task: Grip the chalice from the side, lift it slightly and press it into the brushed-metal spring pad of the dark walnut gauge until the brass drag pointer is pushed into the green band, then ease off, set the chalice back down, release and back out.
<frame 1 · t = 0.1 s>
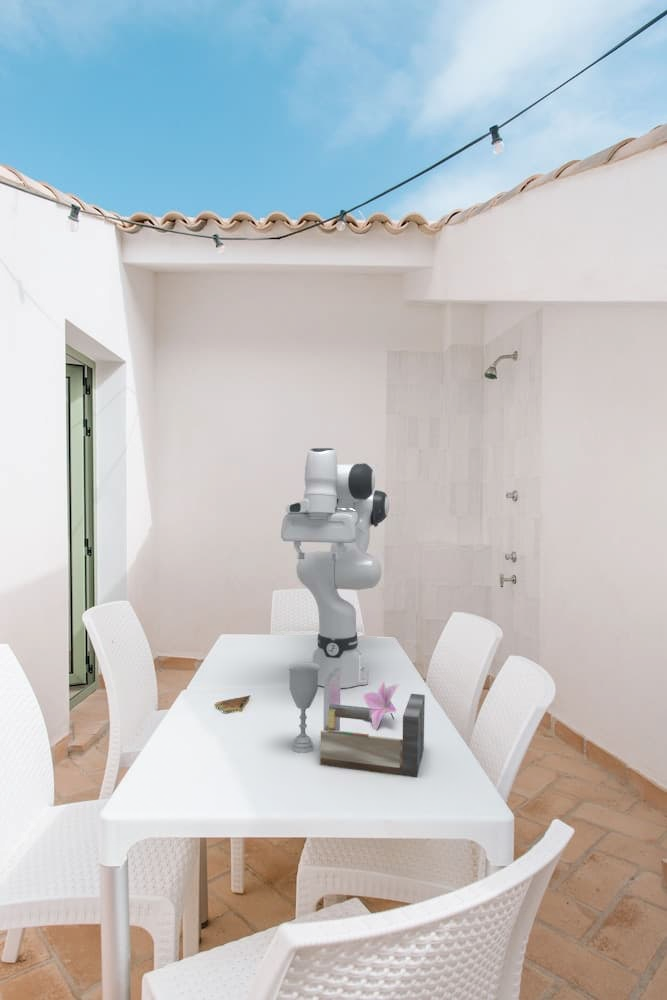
hand: (318, 559, 158), 39 cm above the table, tool pointing down, fingers open, 8 cm apart
shard: (230, 708, 159), on the table
gauge housing: (373, 756, 129), on the table
lily: (380, 722, 149), on the table
drag pointer: (332, 731, 126), point 7 cm above the table, slide at 0.0 cm
gauge plunger: (349, 710, 130), point 10 cm above the table, slide at 0.0 cm
chalice: (302, 748, 133), on the table
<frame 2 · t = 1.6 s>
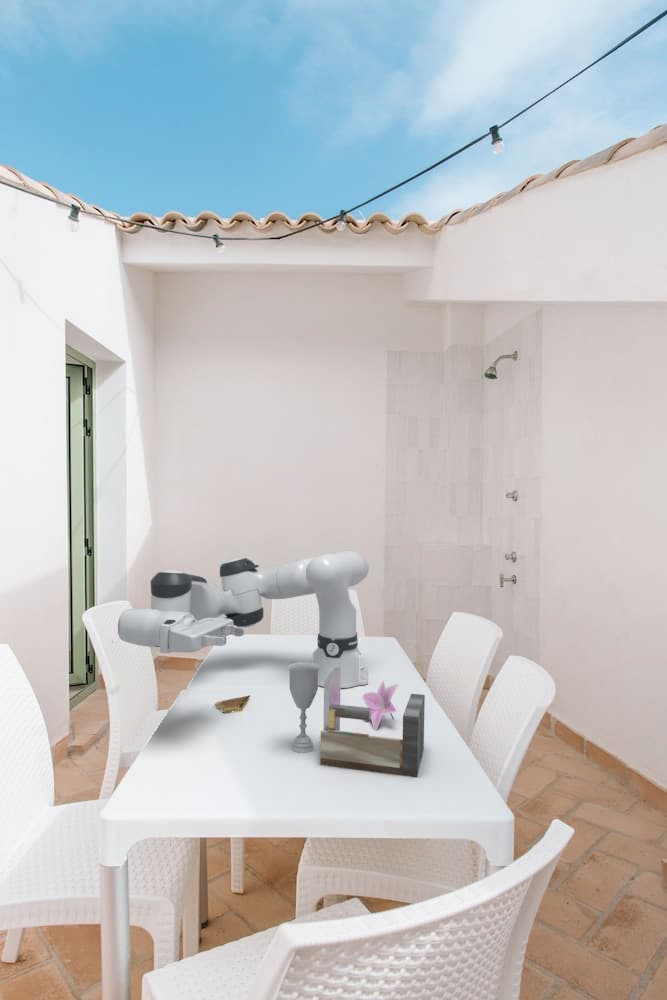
hand: (234, 636, 137), 23 cm above the table, tool horizontal, fingers open, 8 cm apart
nothing on the table moved.
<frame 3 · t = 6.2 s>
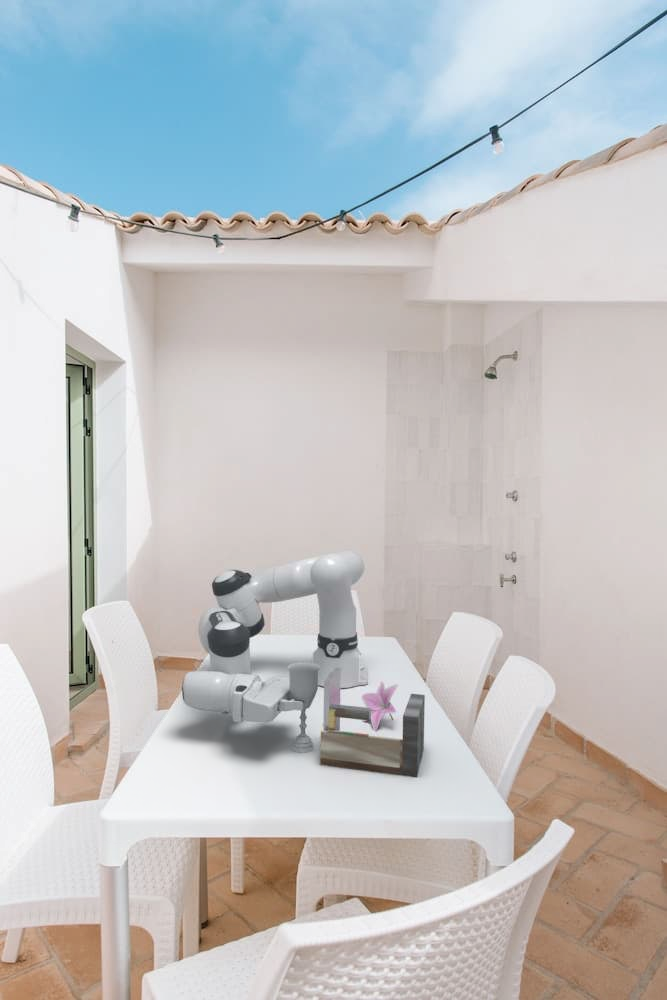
hand: (307, 700, 133), 11 cm above the table, tool horizontal, fingers closed on chalice, 5 cm apart
chalice: (302, 748, 133), on the table, touching gripper
everything else where it was.
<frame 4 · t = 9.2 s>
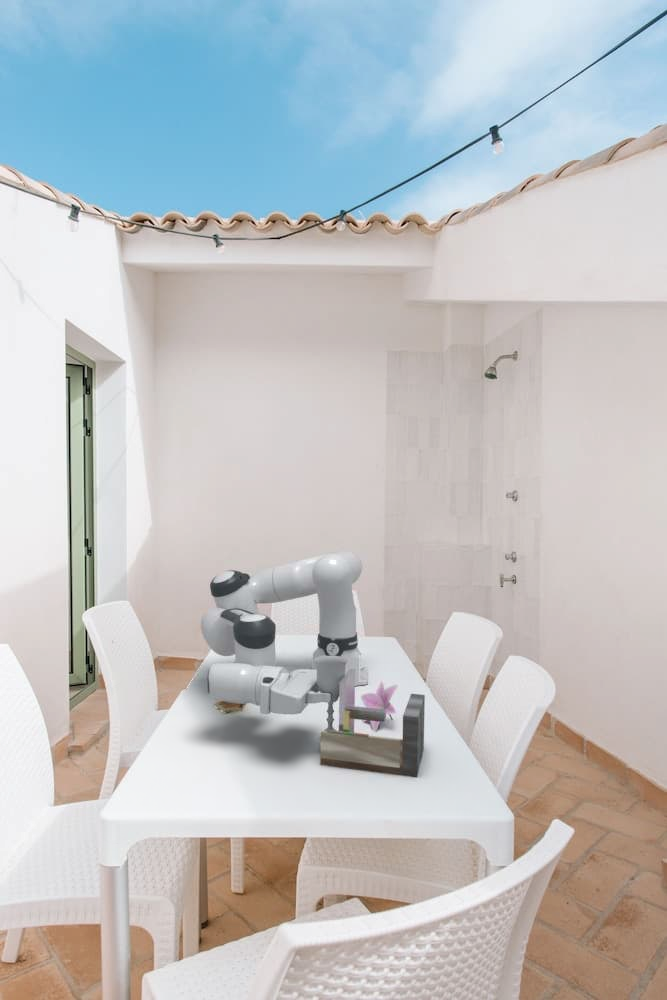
hand: (334, 693, 131), 13 cm above the table, tool horizontal, fingers closed on chalice, 5 cm apart
drag pointer: (346, 733, 125), point 7 cm above the table, slide at 3.1 cm, touching gauge plunger
gauge plunger: (364, 712, 129), point 9 cm above the table, slide at 3.3 cm, touching chalice, drag pointer
chalice: (329, 742, 131), point 2 cm above the table, touching gauge plunger, gripper
everything else where it was.
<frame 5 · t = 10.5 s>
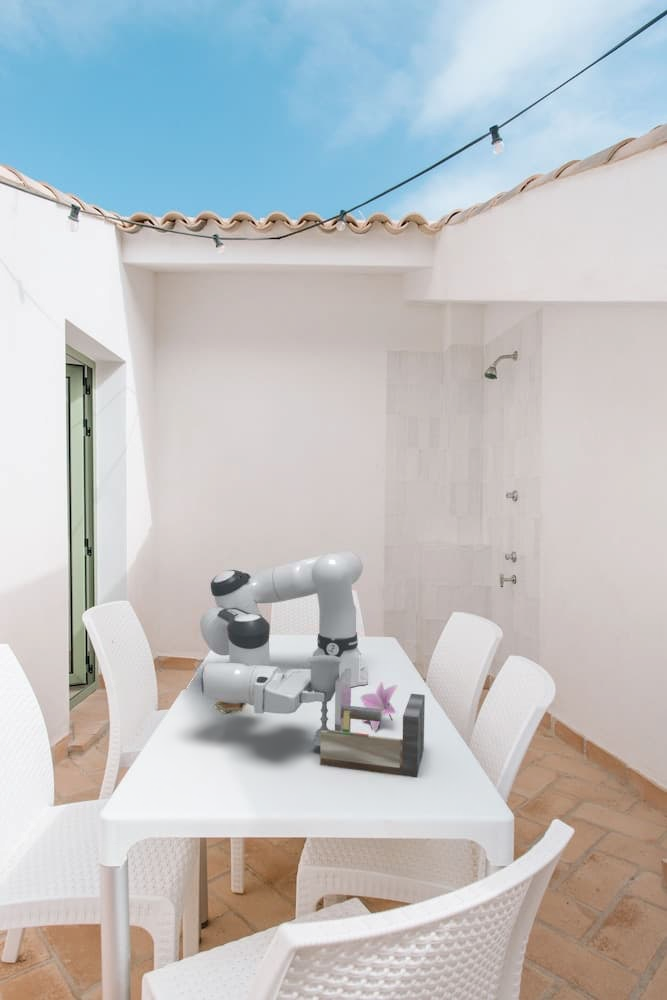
hand: (328, 692, 131), 13 cm above the table, tool horizontal, fingers closed on chalice, 5 cm apart
drag pointer: (346, 733, 125), point 7 cm above the table, slide at 3.2 cm
gauge plunger: (360, 711, 129), point 10 cm above the table, slide at 2.4 cm
chalice: (323, 741, 132), point 2 cm above the table, touching gripper
when the fingers open (11 cm above the table, at t = 12.8 s): chalice stays where it is, on the table.
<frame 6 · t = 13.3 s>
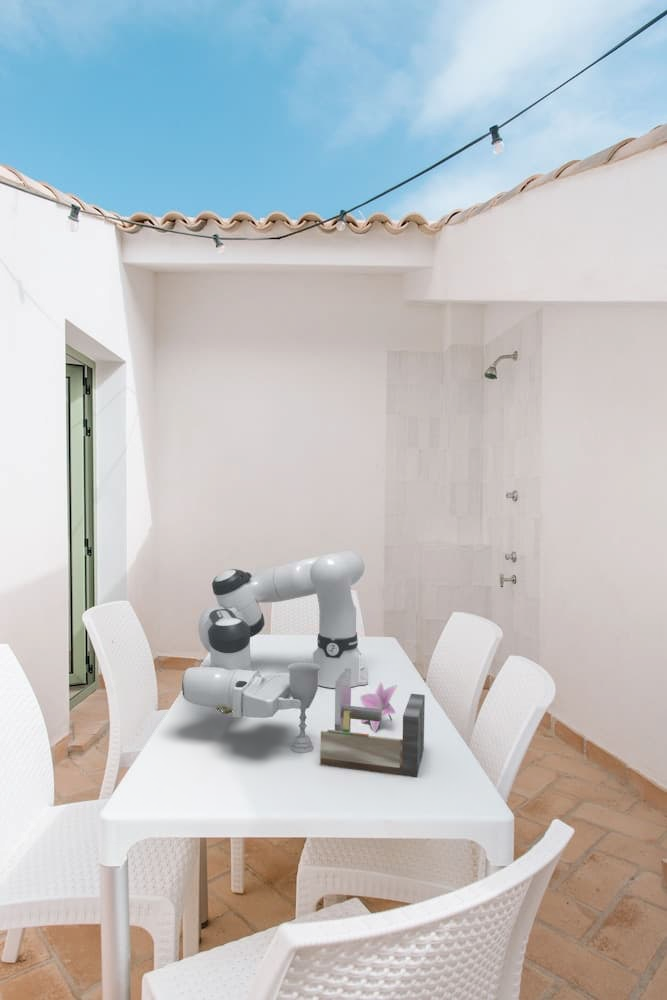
hand: (307, 696, 133), 11 cm above the table, tool horizontal, fingers open, 8 cm apart
chalice: (302, 748, 133), on the table
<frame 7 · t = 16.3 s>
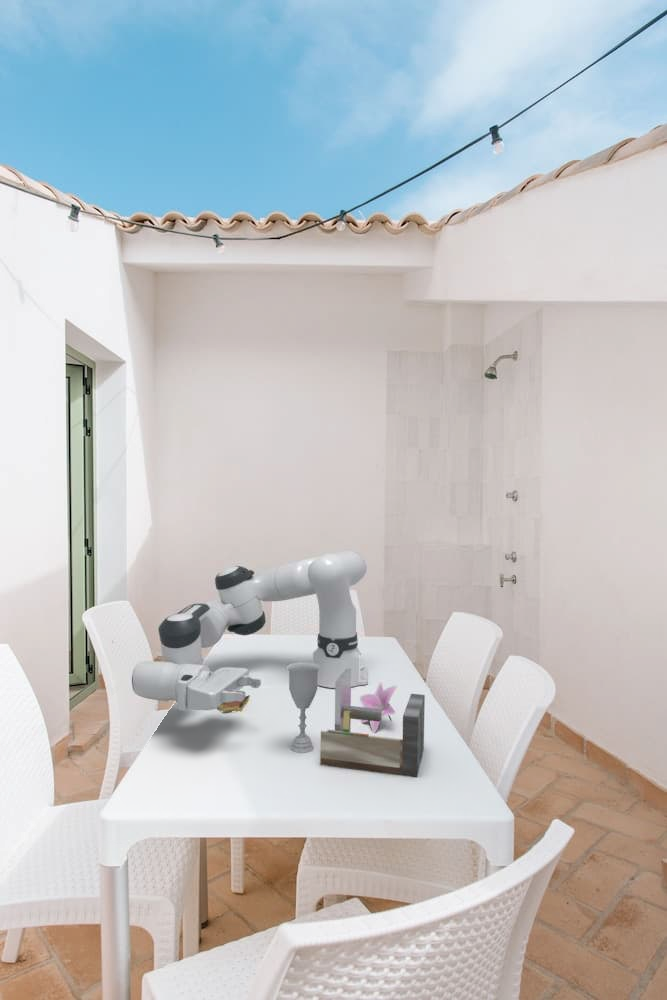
hand: (252, 689, 136), 12 cm above the table, tool horizontal, fingers open, 8 cm apart
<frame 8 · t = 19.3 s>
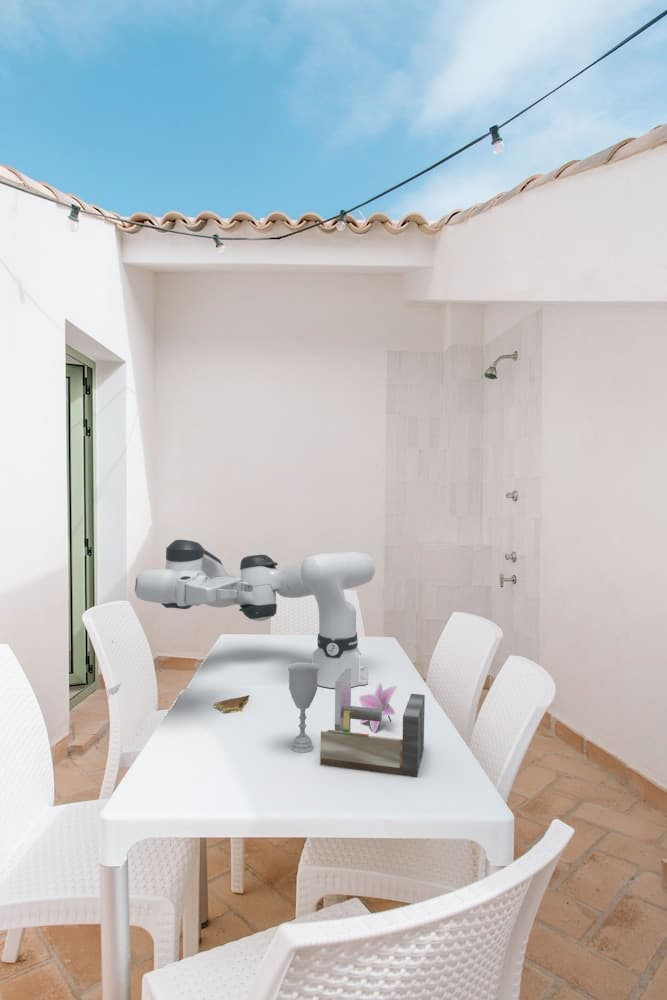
hand: (245, 590, 149), 32 cm above the table, tool horizontal, fingers open, 8 cm apart
at the end: drag pointer slide at 3.2 cm; chalice tilted 0°; chalice inside the target area (0.1 cm from its centre), on the table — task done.
